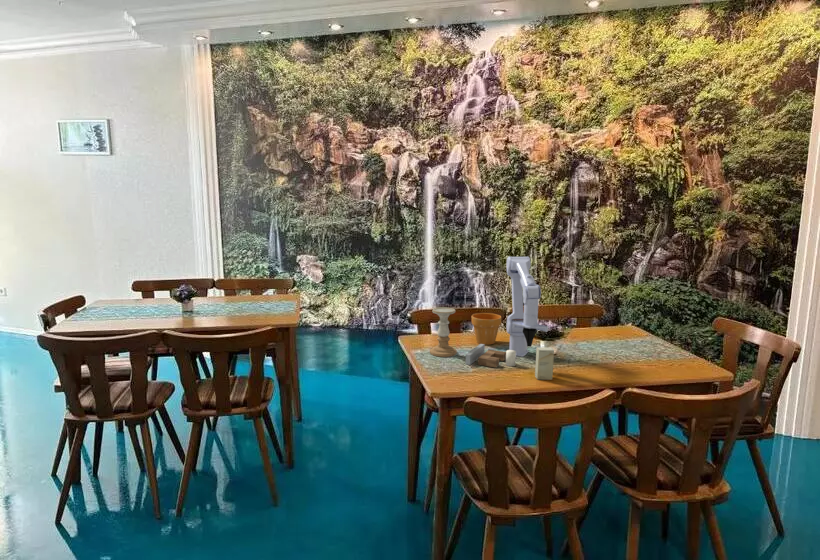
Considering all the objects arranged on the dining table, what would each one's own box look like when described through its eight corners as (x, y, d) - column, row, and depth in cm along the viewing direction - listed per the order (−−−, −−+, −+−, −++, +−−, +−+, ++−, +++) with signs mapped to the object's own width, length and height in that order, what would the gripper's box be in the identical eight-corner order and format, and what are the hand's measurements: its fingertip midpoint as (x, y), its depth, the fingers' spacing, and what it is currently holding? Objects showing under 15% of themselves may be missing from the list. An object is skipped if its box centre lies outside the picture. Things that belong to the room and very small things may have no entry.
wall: (480, 353, 268) (480, 343, 268) (484, 353, 267) (484, 344, 267) (465, 364, 252) (465, 354, 252) (469, 365, 252) (470, 354, 251)
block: (488, 356, 264) (489, 349, 263) (506, 358, 260) (506, 352, 260) (477, 364, 252) (478, 357, 251) (495, 367, 248) (496, 360, 248)
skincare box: (537, 379, 234) (538, 350, 232) (534, 376, 238) (535, 346, 236) (553, 379, 234) (554, 350, 232) (550, 376, 238) (551, 346, 236)
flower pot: (474, 337, 295) (474, 311, 293) (502, 339, 291) (503, 314, 289) (468, 344, 282) (468, 318, 280) (497, 347, 278) (498, 320, 275)
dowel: (507, 362, 255) (507, 349, 254) (516, 364, 253) (516, 350, 252) (504, 365, 251) (505, 351, 250) (514, 366, 250) (514, 353, 249)
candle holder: (435, 358, 261) (435, 313, 257) (425, 350, 272) (426, 307, 269) (461, 355, 265) (462, 311, 261) (450, 348, 276) (451, 306, 273)
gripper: (510, 314, 245) (509, 346, 247) (545, 318, 238) (544, 350, 241) (515, 310, 251) (514, 341, 253) (550, 314, 244) (548, 346, 247)
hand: (529, 345), depth 247 cm, fingers closed
